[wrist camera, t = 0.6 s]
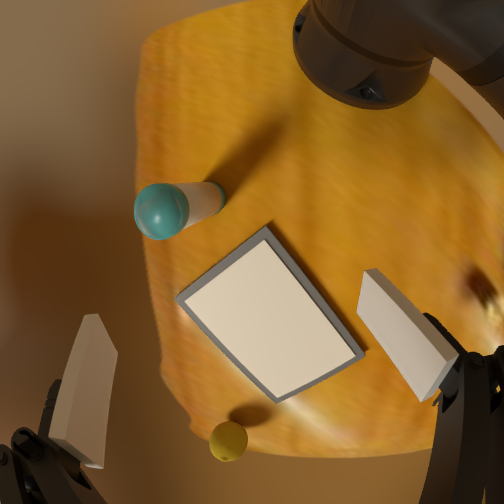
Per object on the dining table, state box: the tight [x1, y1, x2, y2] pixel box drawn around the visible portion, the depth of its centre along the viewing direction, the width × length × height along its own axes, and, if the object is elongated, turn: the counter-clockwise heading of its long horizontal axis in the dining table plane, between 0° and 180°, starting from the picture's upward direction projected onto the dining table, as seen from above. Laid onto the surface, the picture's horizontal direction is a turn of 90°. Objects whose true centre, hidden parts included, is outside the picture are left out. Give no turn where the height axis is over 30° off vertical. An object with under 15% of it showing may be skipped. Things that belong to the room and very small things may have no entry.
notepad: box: [174, 225, 366, 403], centre depth 32 cm, size 14×20×1 cm
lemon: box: [210, 421, 248, 462], centre depth 34 cm, size 6×6×8 cm
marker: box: [134, 182, 226, 240], centre depth 23 cm, size 4×4×12 cm
